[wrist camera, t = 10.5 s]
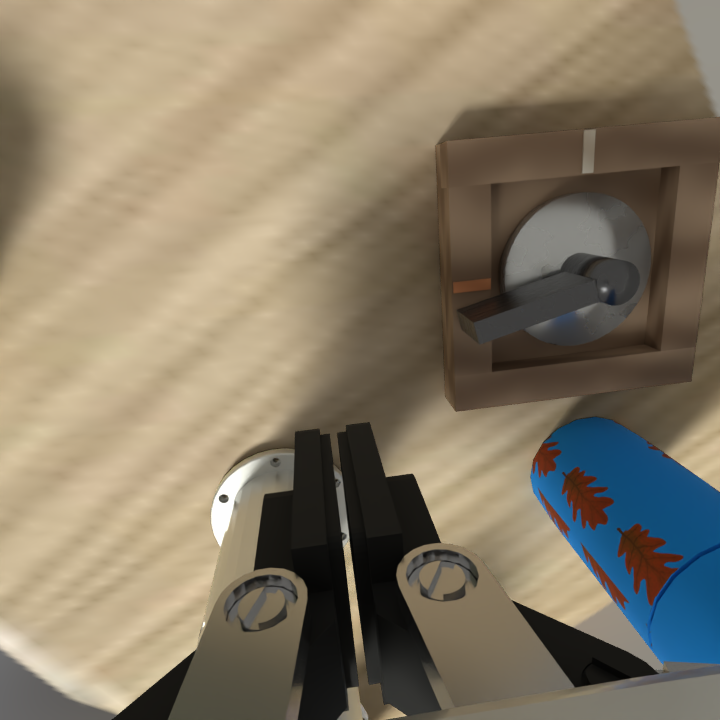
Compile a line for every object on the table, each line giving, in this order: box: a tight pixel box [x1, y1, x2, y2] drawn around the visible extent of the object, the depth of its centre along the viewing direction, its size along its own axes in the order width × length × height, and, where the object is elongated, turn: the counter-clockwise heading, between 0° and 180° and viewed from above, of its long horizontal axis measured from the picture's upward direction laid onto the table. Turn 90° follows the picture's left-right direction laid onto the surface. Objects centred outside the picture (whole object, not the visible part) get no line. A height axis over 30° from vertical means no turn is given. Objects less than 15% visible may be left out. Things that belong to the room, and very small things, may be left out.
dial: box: [456, 192, 651, 346], centre depth 36 cm, size 16×12×6 cm
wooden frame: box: [435, 117, 720, 412], centre depth 39 cm, size 20×20×3 cm
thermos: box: [530, 417, 720, 664], centre depth 35 cm, size 11×11×25 cm
